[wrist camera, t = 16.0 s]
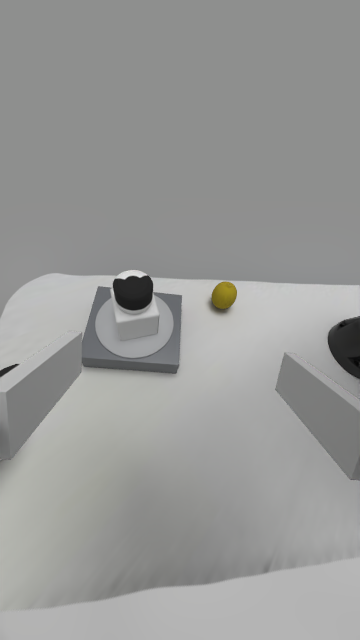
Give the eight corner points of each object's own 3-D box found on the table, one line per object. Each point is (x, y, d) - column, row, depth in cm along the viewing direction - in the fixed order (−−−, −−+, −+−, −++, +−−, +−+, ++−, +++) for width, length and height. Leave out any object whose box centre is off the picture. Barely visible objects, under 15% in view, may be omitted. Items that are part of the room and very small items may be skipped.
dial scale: (179, 305, 54) (182, 291, 49) (175, 373, 45) (179, 364, 40) (102, 297, 52) (98, 281, 47) (84, 366, 43) (76, 355, 39)
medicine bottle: (158, 334, 43) (161, 297, 33) (120, 341, 41) (111, 305, 31) (149, 304, 46) (151, 261, 36) (114, 310, 44) (105, 267, 34)
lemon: (221, 293, 57) (231, 272, 51) (234, 309, 55) (246, 289, 48) (203, 301, 55) (212, 279, 49) (216, 318, 53) (227, 298, 46)
